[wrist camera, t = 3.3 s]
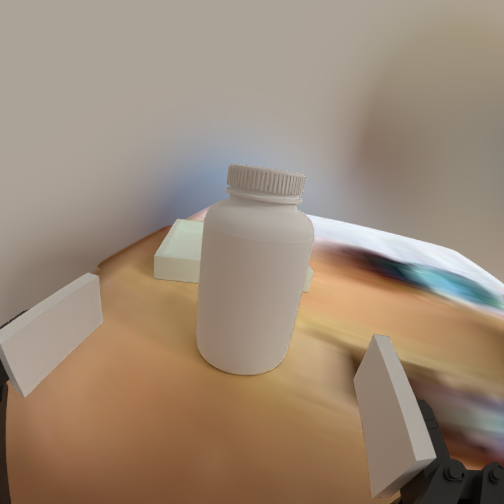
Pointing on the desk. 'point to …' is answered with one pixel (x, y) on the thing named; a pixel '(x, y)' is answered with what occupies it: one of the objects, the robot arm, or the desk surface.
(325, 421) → the desk surface
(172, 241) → the tray
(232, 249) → the pill bottle
